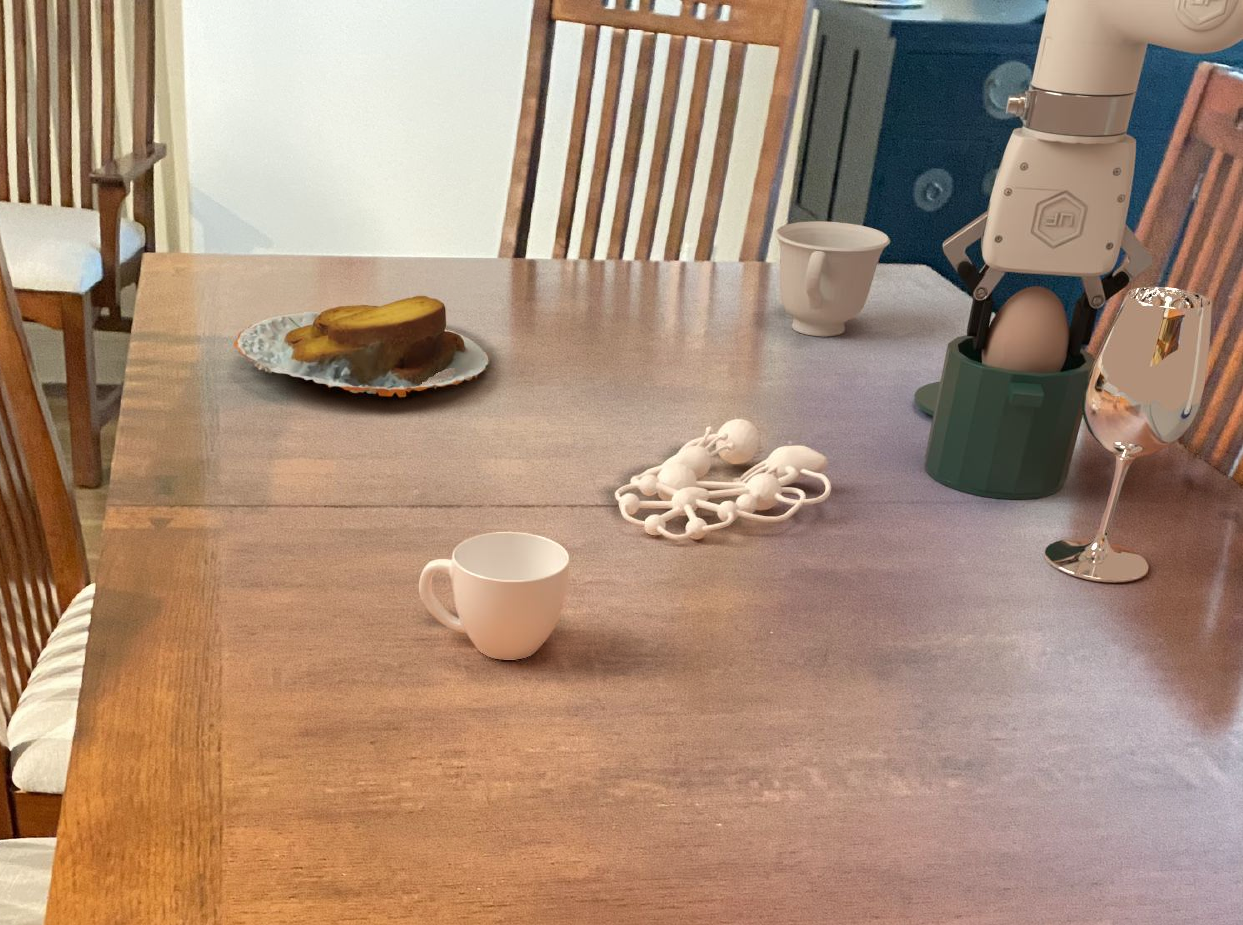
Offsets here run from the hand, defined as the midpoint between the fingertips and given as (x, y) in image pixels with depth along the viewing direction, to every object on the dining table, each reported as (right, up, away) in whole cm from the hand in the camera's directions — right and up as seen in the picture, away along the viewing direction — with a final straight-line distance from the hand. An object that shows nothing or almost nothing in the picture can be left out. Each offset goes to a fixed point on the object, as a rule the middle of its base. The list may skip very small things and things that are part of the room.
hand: (1024, 347), depth 124 cm
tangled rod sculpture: (-25, -13, 0) cm, 28 cm away
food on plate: (-56, +5, +27) cm, 62 cm away
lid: (+3, 0, +19) cm, 19 cm away
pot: (0, -9, +6) cm, 11 cm away
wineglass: (+2, -19, -9) cm, 21 cm away
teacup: (-7, +13, +40) cm, 43 cm away
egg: (0, -4, +2) cm, 4 cm away
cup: (-45, -27, -21) cm, 57 cm away
